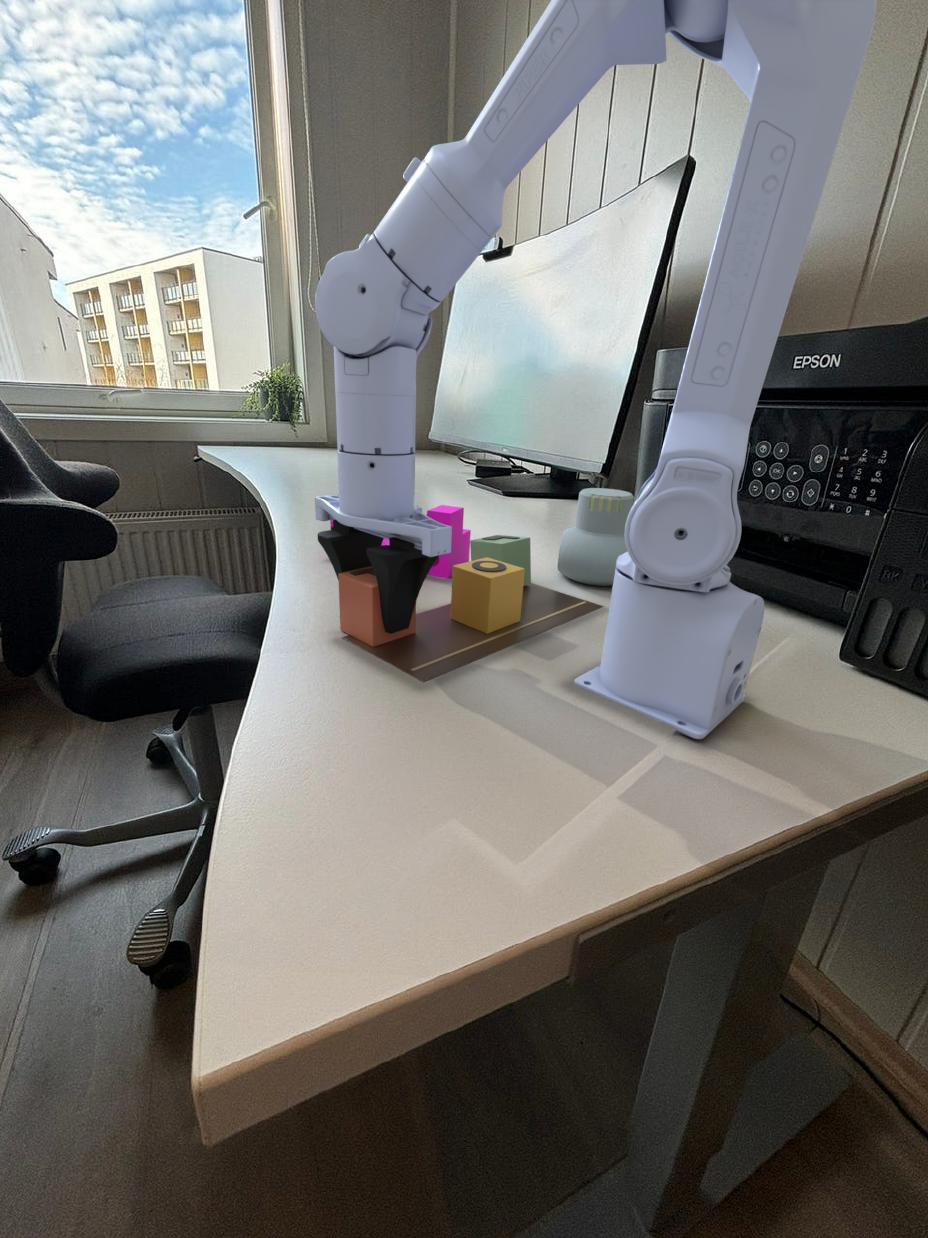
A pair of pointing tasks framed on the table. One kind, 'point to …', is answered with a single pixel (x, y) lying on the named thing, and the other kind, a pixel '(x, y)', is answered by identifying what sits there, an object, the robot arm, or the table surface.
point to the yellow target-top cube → (486, 594)
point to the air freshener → (595, 536)
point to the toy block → (458, 540)
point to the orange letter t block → (365, 608)
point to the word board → (473, 634)
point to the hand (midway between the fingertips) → (378, 620)
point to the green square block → (505, 551)
